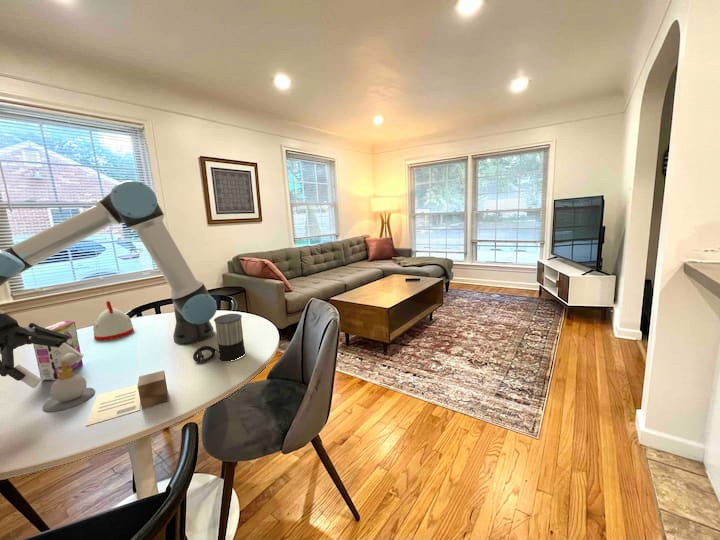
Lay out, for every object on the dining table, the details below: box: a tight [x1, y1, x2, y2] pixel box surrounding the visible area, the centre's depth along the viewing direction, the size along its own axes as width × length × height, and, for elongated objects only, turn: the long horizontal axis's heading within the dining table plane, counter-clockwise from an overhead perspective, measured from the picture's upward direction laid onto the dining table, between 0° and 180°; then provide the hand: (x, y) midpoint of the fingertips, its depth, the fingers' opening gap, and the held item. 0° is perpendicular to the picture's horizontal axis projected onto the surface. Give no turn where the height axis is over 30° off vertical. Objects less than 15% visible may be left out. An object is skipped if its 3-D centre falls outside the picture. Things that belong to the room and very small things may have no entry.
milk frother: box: [192, 313, 246, 363], centre depth 111 cm, size 14×16×15 cm
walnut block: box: [137, 370, 169, 411], centre depth 87 cm, size 6×6×7 cm
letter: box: [85, 384, 141, 427], centre depth 87 cm, size 11×16×1 cm
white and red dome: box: [92, 300, 134, 341], centre depth 138 cm, size 14×14×15 cm
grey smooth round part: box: [42, 387, 96, 413], centre depth 89 cm, size 11×11×1 cm
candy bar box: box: [32, 320, 83, 382], centre depth 104 cm, size 11×5×16 cm, turn 5°
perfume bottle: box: [50, 353, 88, 402], centre depth 88 cm, size 8×10×12 cm
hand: (60, 370), depth 87 cm, fingers open, 13 cm apart
